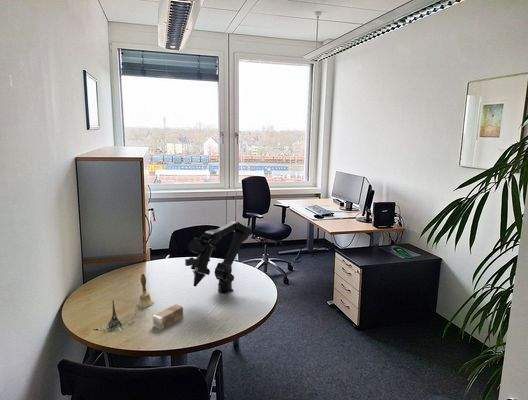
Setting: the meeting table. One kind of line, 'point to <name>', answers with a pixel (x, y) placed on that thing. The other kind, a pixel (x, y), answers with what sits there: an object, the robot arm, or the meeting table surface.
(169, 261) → the meeting table surface
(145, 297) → the hand bell
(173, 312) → the wooden block
